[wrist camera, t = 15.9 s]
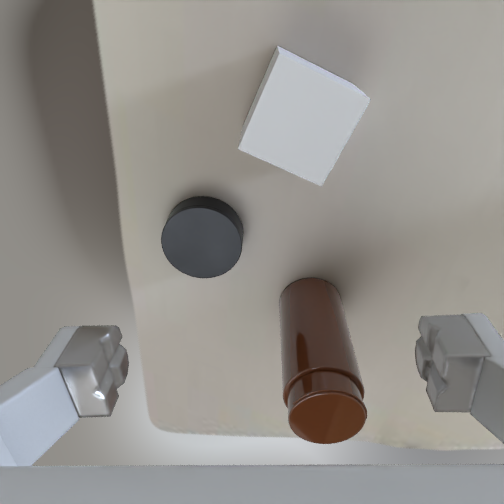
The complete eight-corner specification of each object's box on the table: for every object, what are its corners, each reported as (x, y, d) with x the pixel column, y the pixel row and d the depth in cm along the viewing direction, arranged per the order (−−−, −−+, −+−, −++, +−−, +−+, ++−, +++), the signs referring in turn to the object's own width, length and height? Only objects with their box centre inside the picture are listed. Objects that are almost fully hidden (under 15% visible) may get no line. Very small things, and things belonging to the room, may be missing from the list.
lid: (153, 211, 35) (146, 223, 33) (225, 185, 34) (222, 196, 32) (187, 272, 38) (183, 287, 36) (254, 251, 37) (253, 264, 35)
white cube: (277, 45, 29) (279, 52, 23) (353, 83, 30) (371, 98, 25) (242, 126, 31) (237, 149, 26) (313, 159, 33) (321, 187, 27)
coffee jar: (353, 298, 39) (389, 415, 28) (313, 336, 42) (330, 457, 30) (306, 266, 37) (323, 376, 26) (266, 307, 40) (266, 424, 29)
